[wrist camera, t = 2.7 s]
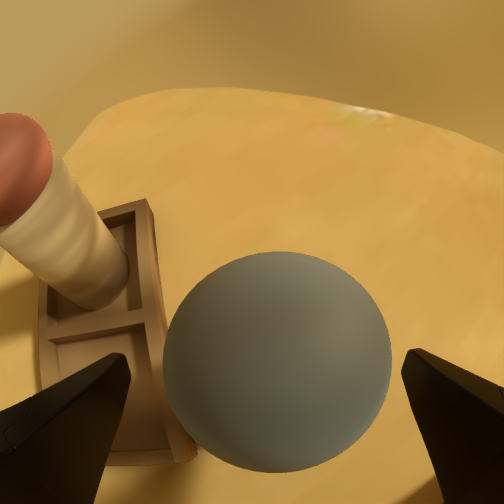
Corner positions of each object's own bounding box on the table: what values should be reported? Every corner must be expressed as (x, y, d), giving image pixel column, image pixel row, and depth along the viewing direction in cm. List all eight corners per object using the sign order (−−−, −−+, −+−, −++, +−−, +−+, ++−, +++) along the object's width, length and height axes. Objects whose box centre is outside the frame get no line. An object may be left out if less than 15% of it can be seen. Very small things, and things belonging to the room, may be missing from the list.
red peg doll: (119, 316, 16) (-32, 173, 5) (59, 303, 16) (-75, 187, 5) (137, 244, 18) (49, 76, 7) (80, 240, 18) (-15, 104, 7)
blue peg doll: (302, 428, 13) (438, 488, 2) (212, 422, 14) (99, 479, 3) (307, 344, 16) (421, 212, 5) (221, 338, 16) (157, 189, 5)
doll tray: (197, 454, 13) (190, 461, 11) (73, 458, 12) (56, 461, 10) (153, 215, 20) (145, 198, 19) (58, 242, 19) (46, 228, 17)
